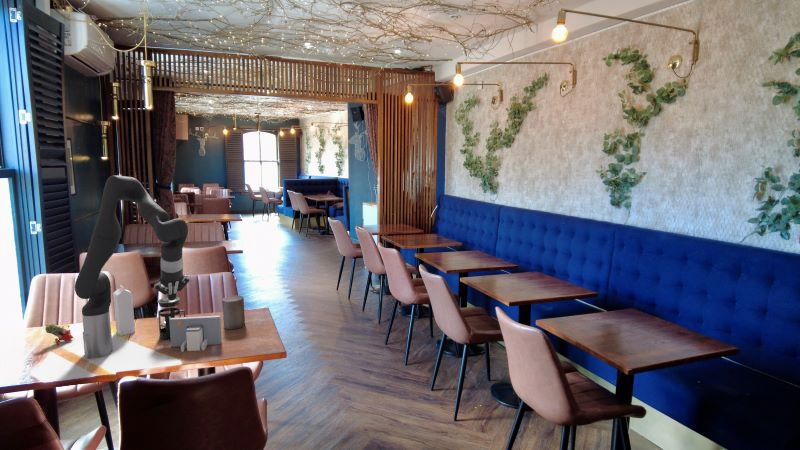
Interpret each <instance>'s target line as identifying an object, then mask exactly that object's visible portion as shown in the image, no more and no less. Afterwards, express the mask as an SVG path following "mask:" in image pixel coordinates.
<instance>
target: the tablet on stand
mask: <svg viewBox="0 0 800 450" xmlns="http://www.w3.org/2000/svg"><path fill="white" fill-rule="evenodd" d="M169 322H170V338H171V340H170V346H171V348H173V347H174V348H175V347H176V348H177V347H180V352H184V351H185V350H187V337H186V330H187V329H188V327H189V326H200V325H202V330H203V343H202V344H201V347H202V348H201V351H205V350H206V348H207V346H208V345H211V346H212V345H221V344H222V343H223V342H222V341H223V339H222V336H223V335H222V317H221V315H205V316H204V315H203V316H188V317H187V316H186V317H184V316H181V318H180V317H175V318H171V317H170V318H169Z"/></svg>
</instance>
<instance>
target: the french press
mask: <svg viewBox="0 0 800 450" xmlns="http://www.w3.org/2000/svg"><path fill="white" fill-rule="evenodd" d="M162 287H163V288H165V289H167V287H165V286H162ZM180 300H181V298H180V297H178V296H176V298H175V300H172V301H170V300H169V299H168V297H163V298H159V299H158V300H157V303H158V305H159V307H161V308H162V309H160V310H158V311H157V315H158V316H157V317H158V328H159V329H158V330H159V337H158V338H159V340H162V341H171V338H170V322H169V319H170V318H176V316H177V315H179V318H181V317H182V312H183V317H187V315H186V309H181V308H180V307H176V306H178V305H179V304H180ZM164 312H168V313H164ZM161 317H164V321H161Z"/></svg>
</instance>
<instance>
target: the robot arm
mask: <svg viewBox="0 0 800 450" xmlns="http://www.w3.org/2000/svg"><path fill="white" fill-rule="evenodd" d="M118 201H129V202H130V201H132V202H134V203H136V204H137V205H138V211H139V214H140V216H141V218H142V219H144V220H145V222H146V223H148V225H149V226H151V228H152V229H153V232H154V234H155V236H156V238H157V240H159V241H160V242H162V244H161V247H160V249H161V251H160V254H161V255H160V256H161V257H160V277H159V281H158V282H154V283H153V287H154V288H155V290H157V291H158V292H160V293H161V294H163V295H165V296H166V295H167V298H168V299H169V300H170V301H172V300H175V298H176V297H177V293H178V292H181V291H183V289H184V288H185V287H186V286H187V284H188V283H189V282H190V279H189V276H188V275H184V273H183V272H184V258H183V248H184V245H185V243H186V240H187V237H188V234H189V226H188V223H187V222H186V220H184V219H183V218H181V217H180V218H174V219H170V215H169V213H168V212H167V211H166V210H164V209H163V207H161V206H160V205H159V204H158V203H157V202H156V201H154V199H153V198H152V197H151V195H150V194H149V193H148V191H147V190H146V189H145V187H144V186H143V184H142V183H141V182H140V181H139V180H138V179H137V178H135V177H132V176H124V175H111V176H109V177H108V178H107V179H106V181H105V184H104V188H103V193H102V199H101V202H100V208H99V212H98V216H97V220H96V222H95V226H94V229H93V232H92V235H91V239H90V241H89V242H90V243H89V246H88V249H87V252H86V255H85V258H84V262H83V264H82V266H81V268H80V271H79V273H78V275H77V278H76V280H75V283H74V291H75V294H76V296H77V297H78V298H79V299H80V300H87V299H88V301H87V302H86V303H85V304H84V305H83V306H82V308H81V317H82V326H83V331H82V340H83V349H84V355H85V358H86V359H95V358H101V357H105V356H109V355H110V354H112V353H113V340H112V339H113V338H112V327H111V325H112V324H111V314H110V313H111V312H110V306H111V303H112V287H111V284H112V283H111V281H110V278H109V275H108V274H106V273H105V272H102V269H103V268H104V266H105V265H106V263H108V262H109V260H110V259H111V257H112V256H113V255H114V253H115V252H116V251H117V248H118V246H119V243H120V240H121V237H122V227H121V224H120V222H119V219H118V218H117V214H116V209H117V205H118ZM163 287H167V289H165V288H163Z"/></svg>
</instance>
